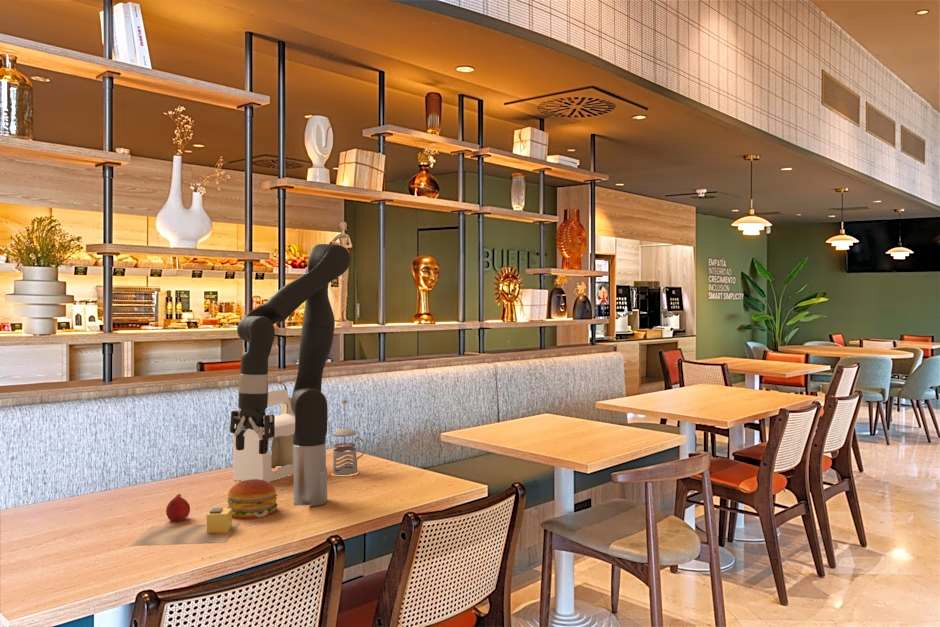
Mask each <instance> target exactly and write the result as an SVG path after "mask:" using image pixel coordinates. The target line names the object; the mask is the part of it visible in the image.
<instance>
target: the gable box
mask: <svg viewBox="0 0 940 627" xmlns="http://www.w3.org/2000/svg"><path fill="white" fill-rule="evenodd" d="M291 398H292V397H289V390H288V389H281V390H275V391H268V407H269V406H275V405H280V404H282V407H281V408H280V409H281V410H280V414H279V415H278V414H277V415H274V417H275V436H274V437H272V438H269V439H268V450H267V453H266V454H259V440H260V438H259V436H258V434H257V433H255V431H254V430H251V429H248V430H246V432H245V434H244V435H243V436H245V440H244V449H243V450H236V436H235V435H234V433H232V471H233V472H232V477H233V478H232V480H233V479H235V480H234V481H237V480H241V481H240V482H242V481H245V480H252V479H259V480H264V481H267V482H269V483H271V482H270V481H273V480H276V479H279V478H282V477H285V476H288V475H291V474H293V435H294V432H295V413H294V412H293V410H292V407H291ZM235 428H236V424H235ZM260 428H262V427H260ZM269 433H270V429H269ZM262 434H263V433H262ZM263 435H264V434H263ZM271 441H272V442H271ZM270 442H271V446H270V447H269V445H270ZM270 451H271V452H270ZM276 466H282V467H281V468H279V469H278V470H276V471H272V469H271V468H273V469H274V468H275V467H276ZM288 477H289V476H288ZM285 478H286V477H285ZM282 479H283V478H282ZM279 480H280V479H279ZM276 481H277V480H276ZM273 482H274V481H273Z"/></svg>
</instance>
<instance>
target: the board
mask: <svg viewBox="0 0 940 627" xmlns="http://www.w3.org/2000/svg"><path fill="white" fill-rule="evenodd" d="M240 524H241V523H240V522H239V523H232V527H231V528H230V529H229V531H228V532H215V533H207V523H206V524H205V523H204V524H180V525H179V524H178V525H177V524H175V525H151V526H150V527H149V528H148V529H147V530H146V531H145V532H143V534H142V535H140V536H139V537H138V538H137V539H135V540H134V542H132V543H131V544H130V546H131V547H134V546H136V547H137V546H163V545H164V546H167V545H168V546H169V545H195V544H196V545H197V544H199V545H200V544H225V543H227V542H228V541H229V539H230V538H231V536H232V535H233V534H234V533H235V531H236V529H237V528H238V527H239V525H240Z"/></svg>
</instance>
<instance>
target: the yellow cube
mask: <svg viewBox="0 0 940 627" xmlns="http://www.w3.org/2000/svg"><path fill="white" fill-rule="evenodd" d="M227 508H228V507H227ZM227 508H223V507H213V508H211V509H210V510H209V512H208V513H207V514H206V524H207V533H215V532H228V531H229V529H230V528H231V527H232V524H233V517H232V508H228V509H227Z"/></svg>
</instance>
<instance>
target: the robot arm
mask: <svg viewBox="0 0 940 627" xmlns="http://www.w3.org/2000/svg"><path fill="white" fill-rule="evenodd" d="M350 265H351V254H350V251H349V250H348V249H347V248H346V247H345V246H343V245H340V244H335V243H334V244H333V243H330V244H329V243H327V244H326V243H319V244H316V245H314V246H313V247H312V248H311V250H310V252H309V254H308V259H307V273H305V274H303V275H302V276H299V277H298V278H296V279H294V280H292V281H290V282H289V283H287V284H286V285H284V286H282V287H281V288H280V289H278V290H277V291H276V292H275V293H274V294H273V295H272V296H271V297H269V299H268V300H267V301H266V302H264V303H263V304H260V305H259V306H257V307H256V308H254V309H253V310H251V311H249V312H248V313H247V314H245V315H244V316H243V317H242V318H241V319H240V321H239V322H238V324H237V327H236V331H237V335H238V337H239V339H241V340H242V341H244V342H246V343H247V342H248V343H249V347H248V350H247V351H245V352H243V353H242V354H241V358H240V377H239V382H238V401H237V403H238V404H237V405H238V406H237V408H238V409H239V410H238V409H237V410H232V411H231V413H230V426H229V432H230V434H233V433H234V435H235V436H236V450H243V449H244V440H245V436H243V435H244V434H245V432H246V430H248V429H251V430H254V431H255V433H257V434H258V436H259V438H260V440H259V454H266V453H267V450H268V439H269V438H272V437H274V436H275V417H274V416H275V415H274V414H266V409H267V408H268V407H269V406H268V392H269V374H268V373H269V358H270V354H271V352H272V347H273V343H274V340H275V331H276V330H275V326H274V324H279V323H282V322H284V321H285V320H287V319H288V318H289V317H290V316H291V315H292V314H293V313H294V312H295V311H296V310H297V309H298V308H299V307H300V306H302V304H304V303H305V305H304V313H303V320H302V326H301V332H300V341H299V342H300V343H299V350H298V351H299V354H298V367H297V374H296V379H295V383H294V387H293V391H292V395H291V397H290V398H291V407H292V410H293V412H294V413H295V432H294V435H293V475H292V476H293V504H294V505H295V506H310V507H316V506H321V505H324V504H325V503H327V500H328V468H327V458H326V457H327V453H326V452H327V450H326V449H327V445H326V444H327V442H326V441H327V440H326V439H327V433H328V417H329V416H328V400H327V398H326V396H325V395H324V394H323V392H322V383H323V380H322V379H323V374H324V368H325V366H326V363H327V361H328V358H329V356H330V352H331V349H332V346H333V341H334V335H335V334H334V333H335V327H336V323H335V322H336V319H335V316H334V314H335V313H334V312H333V308H332V305H331V302H330V299H329V284H330V283H331V282H333V281H334V280H335V279H337V278H339V277H340V276H342V275H343V274H344V273H345V272H347V270H348V269H349V267H350ZM235 424H236V428H235ZM260 427H262V428H260ZM269 429H270V433H269ZM262 433H263V434H264V435H263V434H262ZM272 439H273V438H272ZM325 505H326V504H325Z"/></svg>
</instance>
